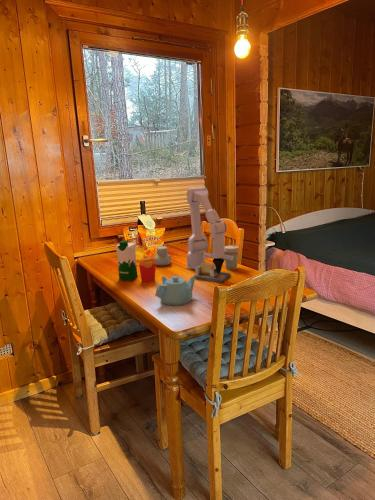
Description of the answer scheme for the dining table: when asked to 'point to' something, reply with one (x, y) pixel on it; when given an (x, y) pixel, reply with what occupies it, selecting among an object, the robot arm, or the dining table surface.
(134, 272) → the milk carton
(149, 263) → the french fries
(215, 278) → the vise base
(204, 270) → the brass block
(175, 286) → the teapot
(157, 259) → the air freshener
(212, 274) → the free jaw
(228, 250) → the coffee cup
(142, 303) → the dining table surface
